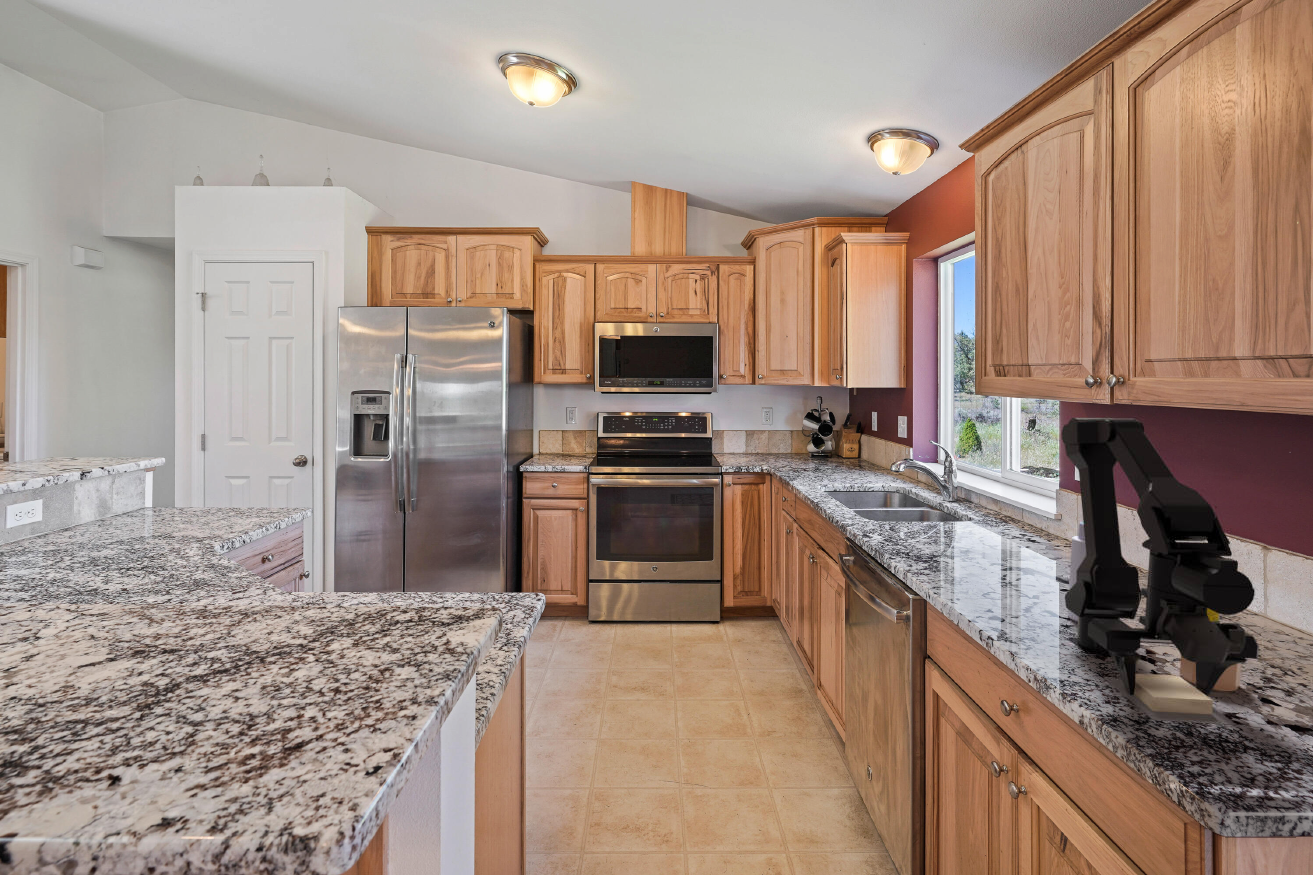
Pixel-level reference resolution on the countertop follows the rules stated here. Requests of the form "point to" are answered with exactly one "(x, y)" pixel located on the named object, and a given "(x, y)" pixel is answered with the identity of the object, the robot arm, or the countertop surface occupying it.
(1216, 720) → the mat
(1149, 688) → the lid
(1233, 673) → the bowl
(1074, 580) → the spray bottle
